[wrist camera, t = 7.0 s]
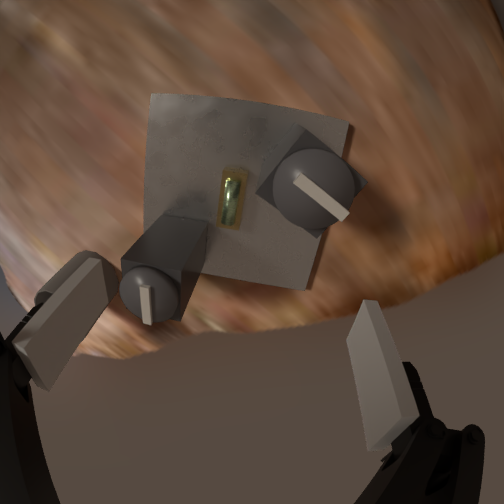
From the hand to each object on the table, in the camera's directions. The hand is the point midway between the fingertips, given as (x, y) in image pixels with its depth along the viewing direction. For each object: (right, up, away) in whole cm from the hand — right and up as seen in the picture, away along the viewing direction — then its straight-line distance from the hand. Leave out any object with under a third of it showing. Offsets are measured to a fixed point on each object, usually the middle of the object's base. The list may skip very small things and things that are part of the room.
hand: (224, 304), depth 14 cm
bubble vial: (-1, +8, +16) cm, 18 cm away
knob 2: (+6, +11, +14) cm, 19 cm away
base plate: (-1, +9, +17) cm, 19 cm away
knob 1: (-7, +4, +19) cm, 20 cm away
